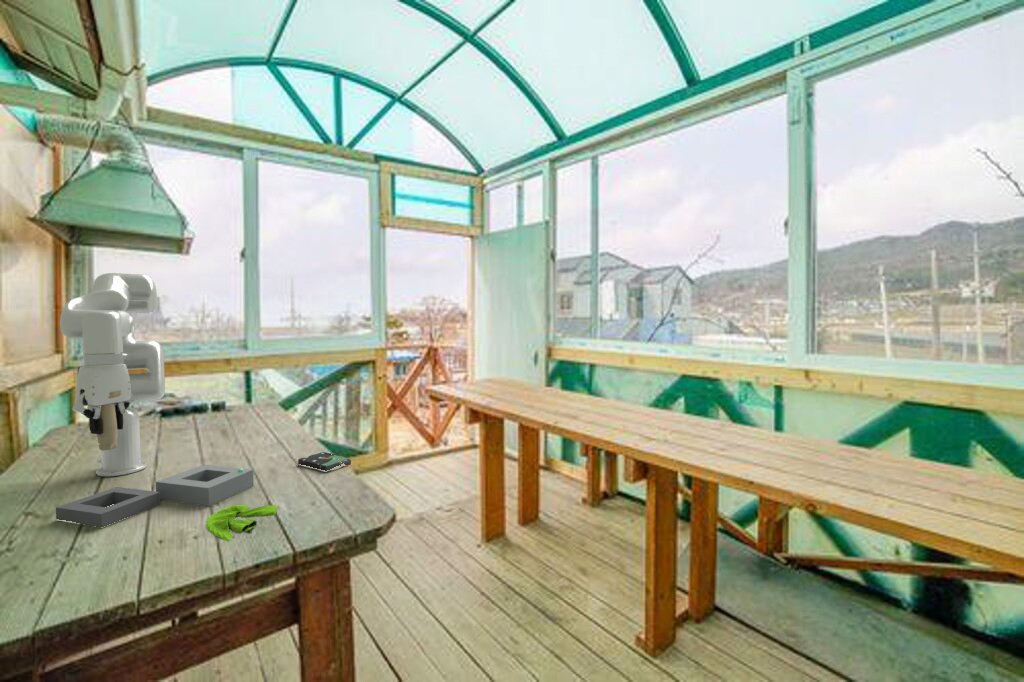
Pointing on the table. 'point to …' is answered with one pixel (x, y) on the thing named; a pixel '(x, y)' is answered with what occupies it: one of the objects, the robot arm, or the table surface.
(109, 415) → the handle
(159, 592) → the table surface
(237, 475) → the port block
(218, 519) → the cloth
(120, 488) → the grey square frame
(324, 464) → the disk drive
